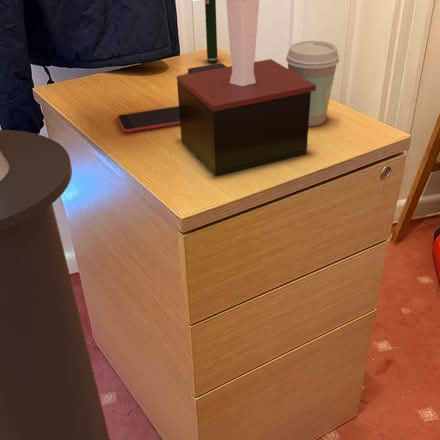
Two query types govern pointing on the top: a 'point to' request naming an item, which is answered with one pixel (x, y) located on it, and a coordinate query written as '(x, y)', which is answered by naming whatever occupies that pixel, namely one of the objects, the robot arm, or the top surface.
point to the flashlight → (211, 30)
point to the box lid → (244, 95)
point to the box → (244, 131)
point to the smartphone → (149, 119)
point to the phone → (206, 68)
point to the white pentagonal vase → (242, 39)
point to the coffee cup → (315, 73)
